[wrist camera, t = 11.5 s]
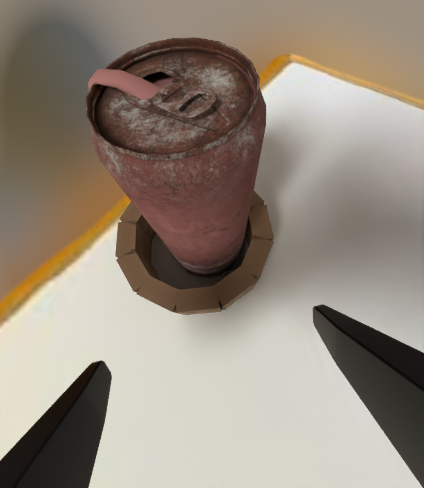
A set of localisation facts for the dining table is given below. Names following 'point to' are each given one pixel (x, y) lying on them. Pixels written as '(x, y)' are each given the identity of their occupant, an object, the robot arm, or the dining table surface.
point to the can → (183, 143)
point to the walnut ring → (195, 299)
